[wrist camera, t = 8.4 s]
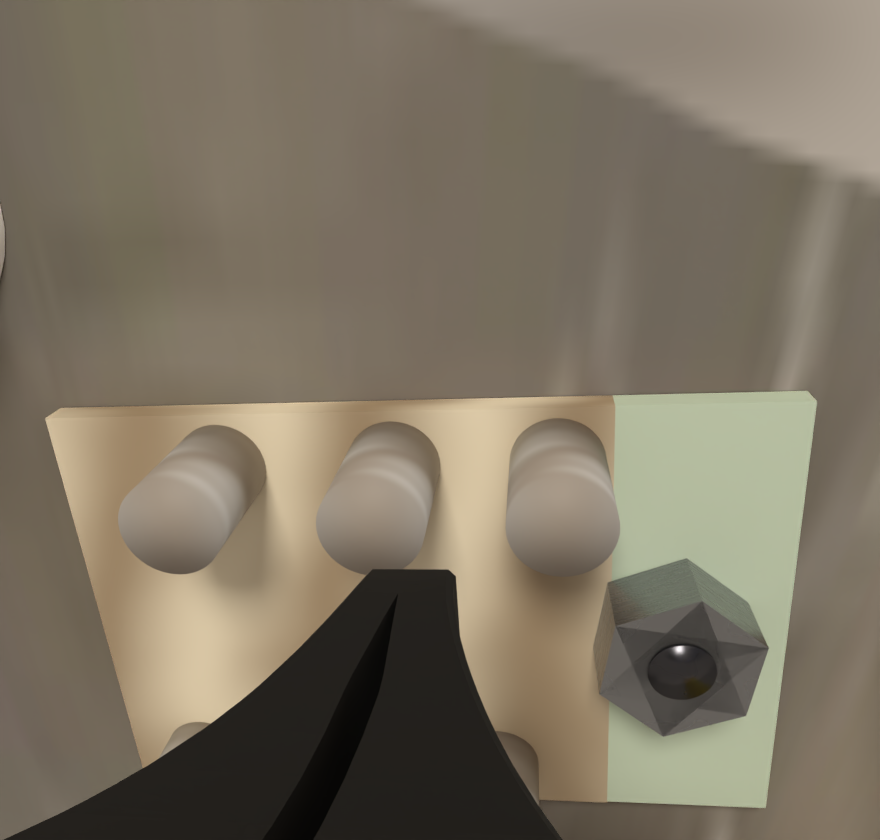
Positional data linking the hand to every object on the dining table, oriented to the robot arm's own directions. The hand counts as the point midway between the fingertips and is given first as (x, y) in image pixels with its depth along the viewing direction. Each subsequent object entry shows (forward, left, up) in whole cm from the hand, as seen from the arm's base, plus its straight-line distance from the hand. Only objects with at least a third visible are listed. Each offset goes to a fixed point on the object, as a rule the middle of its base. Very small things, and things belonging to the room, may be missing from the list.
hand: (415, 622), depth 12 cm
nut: (-6, +7, -9) cm, 13 cm away
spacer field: (+4, +7, -10) cm, 13 cm away
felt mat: (-6, +7, -10) cm, 14 cm away
